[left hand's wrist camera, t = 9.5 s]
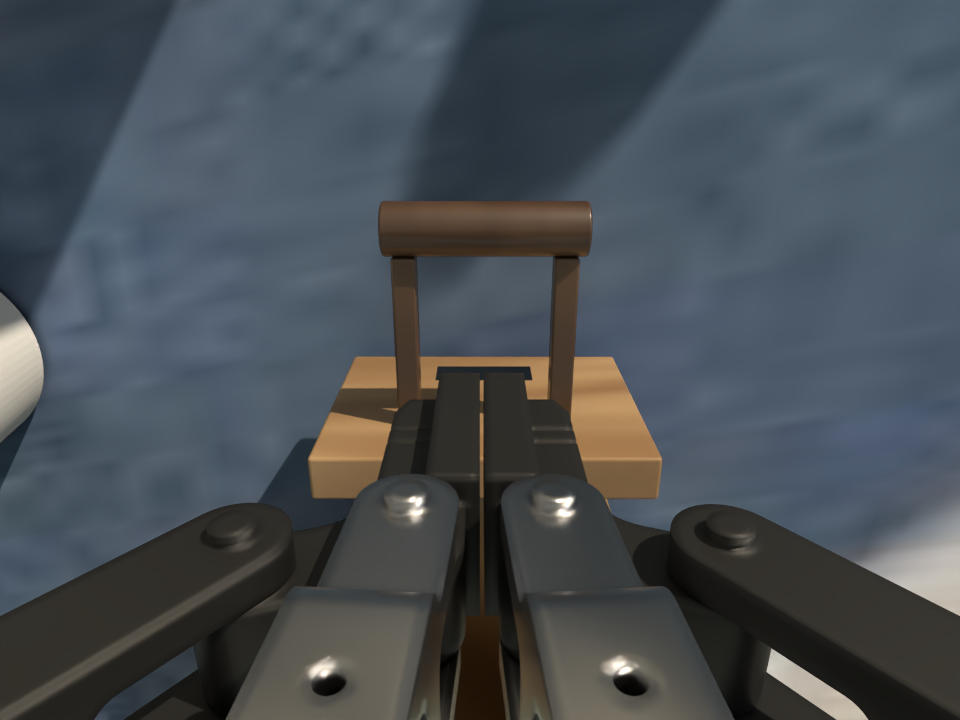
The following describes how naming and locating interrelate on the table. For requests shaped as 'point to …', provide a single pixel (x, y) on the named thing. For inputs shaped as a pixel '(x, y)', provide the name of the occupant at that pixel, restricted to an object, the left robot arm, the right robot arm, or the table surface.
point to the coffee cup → (17, 369)
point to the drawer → (567, 379)
